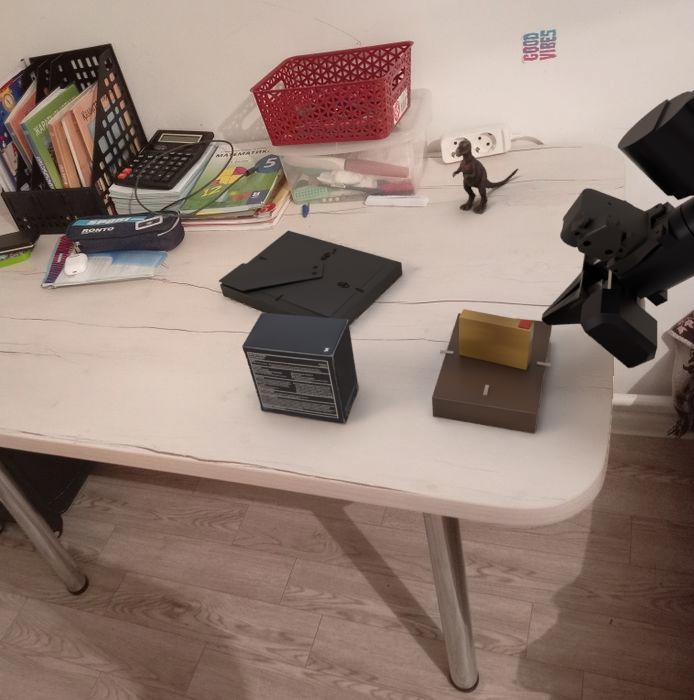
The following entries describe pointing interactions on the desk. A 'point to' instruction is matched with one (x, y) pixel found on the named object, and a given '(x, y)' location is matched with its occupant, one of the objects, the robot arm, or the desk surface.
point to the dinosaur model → (474, 177)
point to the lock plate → (492, 386)
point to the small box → (302, 366)
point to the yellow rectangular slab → (496, 338)
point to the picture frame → (311, 279)
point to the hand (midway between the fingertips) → (544, 320)
